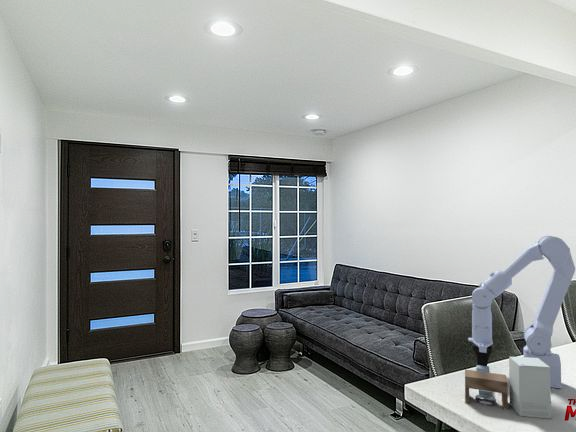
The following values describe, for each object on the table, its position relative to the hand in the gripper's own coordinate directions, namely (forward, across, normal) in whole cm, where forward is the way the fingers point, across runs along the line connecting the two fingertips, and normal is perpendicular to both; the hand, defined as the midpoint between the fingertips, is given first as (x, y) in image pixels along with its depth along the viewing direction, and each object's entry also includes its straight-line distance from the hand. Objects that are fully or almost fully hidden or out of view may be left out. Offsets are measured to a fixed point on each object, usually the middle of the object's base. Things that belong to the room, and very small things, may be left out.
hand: (482, 368), depth 128 cm
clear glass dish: (+2, +22, 0) cm, 22 cm away
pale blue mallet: (+2, +11, 0) cm, 11 cm away
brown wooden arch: (+1, +22, 0) cm, 22 cm away
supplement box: (+2, +24, +10) cm, 26 cm away
